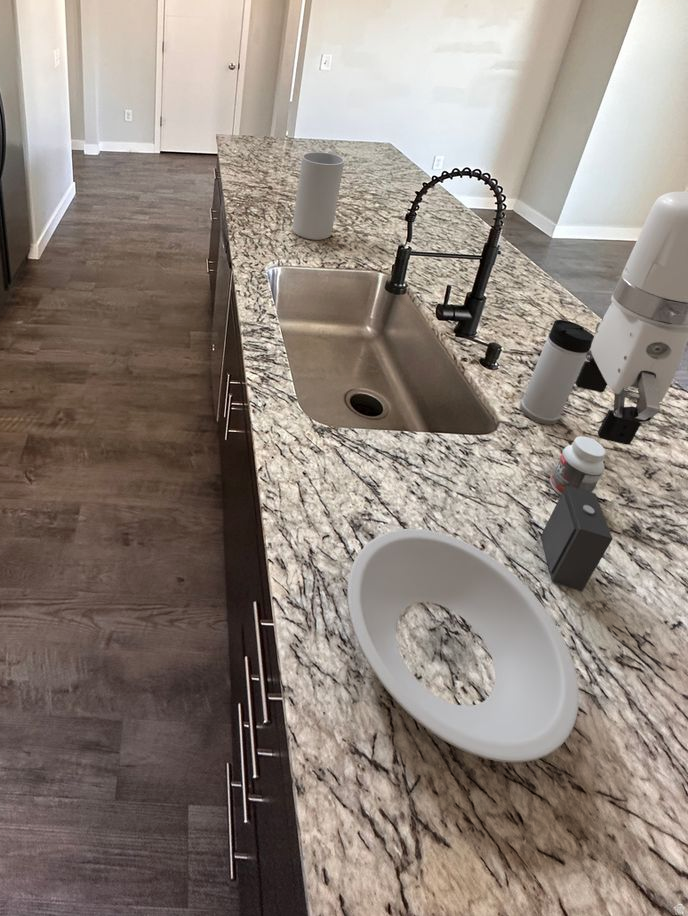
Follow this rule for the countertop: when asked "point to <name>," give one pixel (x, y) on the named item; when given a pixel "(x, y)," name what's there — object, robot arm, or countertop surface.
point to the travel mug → (556, 372)
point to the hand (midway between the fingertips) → (599, 412)
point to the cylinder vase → (317, 195)
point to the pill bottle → (579, 466)
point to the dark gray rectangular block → (575, 538)
